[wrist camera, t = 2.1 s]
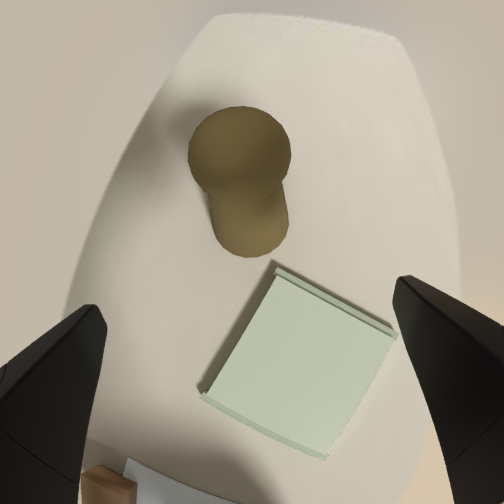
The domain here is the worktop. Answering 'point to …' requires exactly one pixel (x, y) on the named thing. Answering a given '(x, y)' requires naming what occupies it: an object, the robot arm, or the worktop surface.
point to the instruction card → (164, 488)
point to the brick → (107, 487)
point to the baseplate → (301, 366)
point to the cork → (243, 178)
